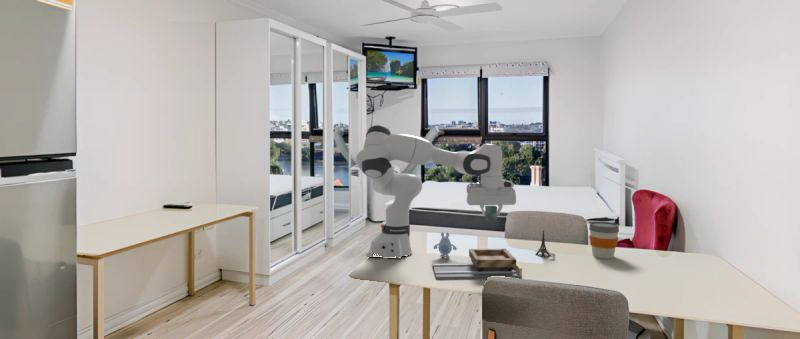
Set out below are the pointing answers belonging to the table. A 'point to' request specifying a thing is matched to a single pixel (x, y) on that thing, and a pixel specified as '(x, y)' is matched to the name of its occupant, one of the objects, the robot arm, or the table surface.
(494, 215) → the slate block
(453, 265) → the track
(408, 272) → the table surface
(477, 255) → the shallow wooden tray
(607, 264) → the table surface
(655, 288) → the table surface
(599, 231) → the reusable coffee cup
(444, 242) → the toy figure
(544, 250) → the eiffel tower figurine
